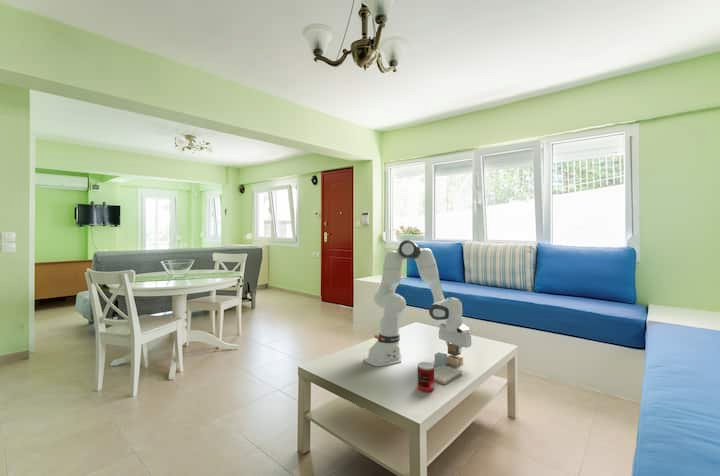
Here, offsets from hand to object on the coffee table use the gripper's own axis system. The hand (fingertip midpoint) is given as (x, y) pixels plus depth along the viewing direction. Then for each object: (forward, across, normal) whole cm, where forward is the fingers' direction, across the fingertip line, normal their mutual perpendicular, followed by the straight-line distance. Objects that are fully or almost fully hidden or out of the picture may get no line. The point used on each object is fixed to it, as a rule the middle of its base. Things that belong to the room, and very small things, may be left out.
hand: (454, 351), depth 180 cm
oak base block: (+7, 0, 0) cm, 7 cm away
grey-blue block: (+7, -3, -8) cm, 11 cm away
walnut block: (+2, 0, 0) cm, 2 cm away
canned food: (+7, +11, -35) cm, 37 cm away
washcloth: (+8, +8, -18) cm, 21 cm away
